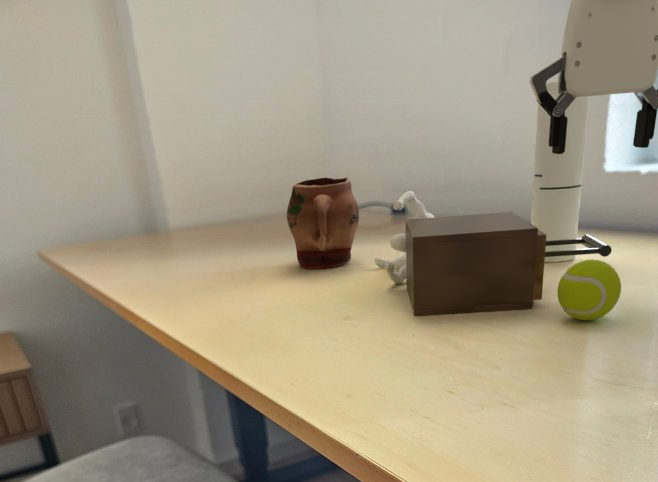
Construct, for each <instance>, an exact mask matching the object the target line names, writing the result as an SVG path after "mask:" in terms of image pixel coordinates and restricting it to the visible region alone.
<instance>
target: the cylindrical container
mask: <svg viewBox="0 0 658 482" xmlns="http://www.w3.org/2000/svg"><path fill="white" fill-rule="evenodd" d="M546 87H547V90H548V93H549V94H550V95H551V96H552V97H553V98H554V99H556V98H557V97H558V96H559V93H558V90H557V81H552V82H546ZM590 102H591V96H584V97H576V98H575V99H574V101H573V102H572V103H571V104H570V105H569V107H568V108H567V109H566V110H565V116H566V117H567V118H568V121H567V133H566V144H565V152H564V153H563V154H555V153H552V147H549V131H550V118H551V117H550V116H549V115H548V114H547V112H546V111H545V110H544V109H543V108H542V107H541V105H540V104H539V103H538V102H537V103H538V104H537V118H536V132H535V134H536V135H535V149H534V166H533V174H534V175H533V180H532V181H533V183H532V195H531V196H532V197H531V212H530V214H531V216H530V223H531V224H532V225H534V226H535V227H537V228H538V230H540V231H541V232H543V233H545V234H546V241H550V240H564V239H578V230H579V219H580V209H581V198H582V187H583V185H582V184H583V177H584V166H585V155H586V147H587V146H586V144H587V136H588V135H587V133H588V122H589V113H590ZM574 249H577V244H569V245H554V246H546V249H545V251H559V250H574ZM575 258H576V255H569V256H554V257H545V262H544V263H559V262H568V261H571V260H574V259H575Z"/></svg>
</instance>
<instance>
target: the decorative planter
mask: <svg viewBox="0 0 658 482" xmlns="http://www.w3.org/2000/svg"><path fill="white" fill-rule="evenodd" d="M358 205H359V204H358V202H357V200H356V198H355V196H354V194H353V191H352V182H351V179H350V178H349V177H343V178H341V177H340V178H334V177H319V178H314V179H306V180H302V181H300V182H297V183H295V184H293V186H292V189H291V194H290V198H289V201H288V205H287V209H286V221H287V225H288V228H289V231H290V233H291V235H292V237H293V240H294V244H295V251H296V258H297V262H298V265H299V266H300V267H301V268H302V269H307V270H309V269H310V270H311V269H312V270H313V269H325V268H333V267H338V266H341V265H345V264H347V263H348V262H350V261H351V259H352V253H351V252H352V248H353V244H354V240H355V236H356V232H357V229H358V225H359V221H360V210H359V206H358Z"/></svg>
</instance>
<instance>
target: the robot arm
mask: <svg viewBox="0 0 658 482" xmlns="http://www.w3.org/2000/svg"><path fill="white" fill-rule="evenodd" d="M556 75H557V81H556V82H557V90H558V93H559V96H558V97H557V98H556V99H554V98H553V97H552V96H551V95H550V94H549V93H548V90H547V87H546V83H548V81H549V80H550V79H552V78H553V77H555V76H556ZM657 76H658V0H570V4H569V8H568V12H567V16H566V21H565V27H564V32H563V38H562V43H561V50H560V57H559V58H558V59H556V60H555V61H553V62H552V63H550V64H549V65H547V66H545V67H544V68H542V69H541V70H539V71H538V72H536V73H534V74H532V76H530V77H529V80H528V81H529V85H530V87H531V89H532V92H533V94H534V96H535V98H536V102H537V103H539V104H540V105H541V107H542V108H543V109H544V110H545V111H546V112H547V114H548V115H549V116H550V117H551V118H550V131H549V147H552V153H555V154H563V153H564V152H565V144H566V133H567V121H568V118H567V117H566V116H565V110H566V109H567V108H568V107H569V105H570V104H571V103H572V102H573V101H574V99H575V98H576V97H584V96H590V97H593V96H594V97H595V96H596V97H597V96H606V95H607V96H608V95H620V94H631V93H632V94H634V95H635V97H636V98H637V100H638V102H639V103H640V105H641V109H638V110H637V112H636V118H635V126H634V132H633V133H634V134H633V142H632V146H633V147H635V148H639V149H640V148H641V149H648V148H649V145H650V140H652V139H653V138H654V135H655V128H656V123H657V115H658V88H657V89H656V88H655V86H654V85H655V84H656V81H657Z"/></svg>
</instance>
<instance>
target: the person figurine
mask: <svg viewBox="0 0 658 482" xmlns="http://www.w3.org/2000/svg"><path fill="white" fill-rule="evenodd" d="M405 204H407V208H408V210H409V211H410V213H412V215H413V218H412V219H421V218H435V216H434V215H433V214H432V213H431V212H428V211H426V207H425V205H424V203H423V202H421V201H420V200H418V199H417V197H416V194H415V192H414V191H412V190H407V191H406V192H404V193H403V194H402V195H401V196H400V197H399V198H398V199H397V200H396V201H395V202H394V204H393V205H392V209H394V210H395V211H402V210H403V209H404V207H405ZM390 246H391V248H392V249H393V250H394V251H397V252H400V253H401V252H402V253H403V254H402V255H399V256H396V257H395V258H393V259H389V258H383V257H375V258H373V261H374V265H376V266H377V267H378V268H384V270H385V271H386V272H387V274H388V276H389V278H390V280H391V281H392V282H393V283H395V285H402V284H403V283H404V281H405V280H407V274H406V231H404V232H402V233H397V234H393V235H392V237H391V238H390ZM396 271H397V272H396Z"/></svg>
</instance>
